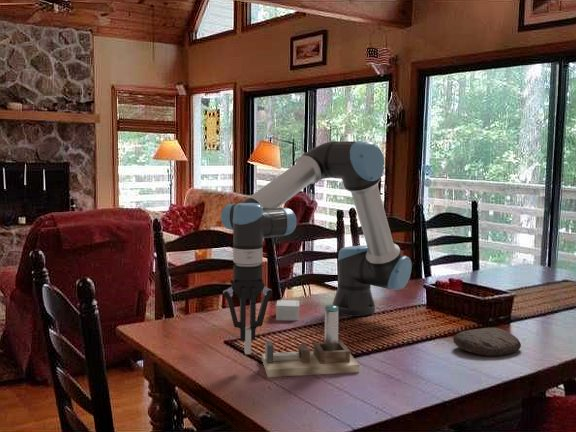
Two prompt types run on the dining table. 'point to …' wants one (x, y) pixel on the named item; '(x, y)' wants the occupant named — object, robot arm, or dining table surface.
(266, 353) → the lock pin
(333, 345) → the silver cylinder
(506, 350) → the decorative stone
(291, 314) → the small box
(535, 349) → the dining table surface
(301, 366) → the dock
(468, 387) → the dining table surface
